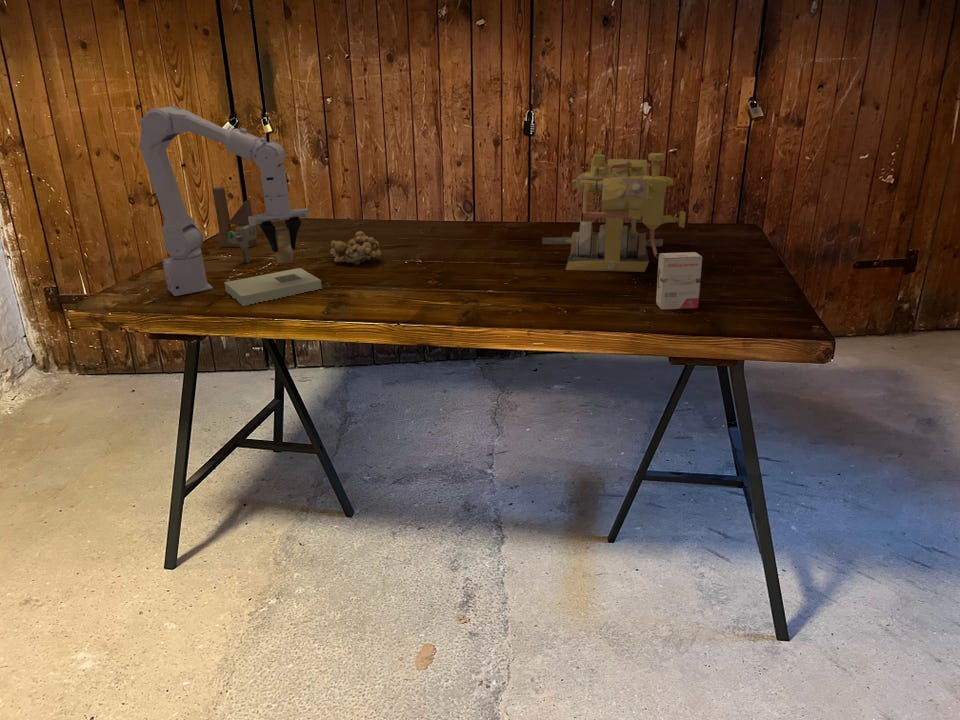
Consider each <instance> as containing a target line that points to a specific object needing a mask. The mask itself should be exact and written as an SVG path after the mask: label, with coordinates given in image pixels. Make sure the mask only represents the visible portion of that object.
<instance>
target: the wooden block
mask: <svg viewBox="0 0 960 720" xmlns="http://www.w3.org/2000/svg"><path fill="white" fill-rule="evenodd" d="M212 195H213V200H214V201H213V202H214V207H215V213H216V219H217V224H218V229H219V235H218V236H217V237H218V243H219V247H220V248H240V244H231V243H229V242H228V238H227V236H226V234H227V233H228V232H229V231H233V230H232V225H238V227H242V226H246V225H250V224H249V220H248V217H249V216H253V211H252V204H251V199H249V198H248V200H245V201H244V202H243V203H242V204H241V206H239V208H238V210H237V211H236V212H235V213H234V215H233V216H232V217H231V218H230V214H229V206H228V202H227V201H228V200H227V195H226V189H225V187H223V186H216V187H215V186H214V187H213V188H212ZM237 240H238V239H237V238H236V241H237ZM248 245H249V247H248V248H253V247H256V246H257V238H256V239H254V240H250V241H248Z"/></svg>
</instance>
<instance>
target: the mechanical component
mask: <svg viewBox="0 0 960 720" xmlns="http://www.w3.org/2000/svg"><path fill="white" fill-rule="evenodd" d="M257 229H258V226H257V224H256V225H254V226H251V225H246V226H242V227H239V226H238V227H236V228H235V231H233V230H232V231H229V232H228V233H227V234H226V236H227V238H228V242H229V243H231V244H240V247H239V248H240V249H241V251H242V258H243V263H246V264H249V262H250V261H251V259H250V256H249V248H250V247H249V245H248V241H250V240H254V239H256V240H257V237H258V233H257V231H258V230H257ZM236 238H237V239H238V240H237V241H236ZM250 263H251V262H250Z"/></svg>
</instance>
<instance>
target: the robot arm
mask: <svg viewBox="0 0 960 720" xmlns="http://www.w3.org/2000/svg"><path fill="white" fill-rule="evenodd" d="M139 123H140V126H141V130H140V137H139V138H140V139H139V149H140V152H141V155H142V157H143V161H144V163H145V167H146V170H147V173H148V175H149V176H148V177H149V178H150V181H151V184H152V187H153V190H154V192H155V195H156V198H157V202H158V203H159V207H160V209H161V212H162V215H163V219H164V222H163V227H162V233H163V234H162V235H163V237H164V238H163V248H164V251H166V253H167V254H168V255H170V257H168V258H164V259H162V266H163V271H164V277H165V281H166V285H167V286H166V287H167V290H168V291H169V292H170V293H171V295H173V297H178V296H184V295H187V294H193V293H200V292H205V291H209V290H213V289H214V288H213V286H212V285H211V284H210V283H208V278H207V273H206V270H205V269H206V268H205V263H204V258H203V254H202V249H201V246H202V245H203V242H204V234H203V233H202V231H201V229H200V228H199V227H198V226H197V225H196V223H195V220H194V218H193V217H191V216H190V215H189V214H188V213H187V209H186V207H185V203H184V200H183V198H182V194H181V191H180V188H179V185H178V183H177V182H178V181H177V179H176V177H175V173H174V170H173V168H172V164H171V162H170V159H169V156H168V153H167V148H168V147H169V146H170V144H171V143H172V141H173V140H174V138H176V137H177V136H178V135H180V134H181V133H189V132H190V133H194V134H195V135H199V136H201V137H205V138H207V139H210V140H211V141H212V140H213V141H214V142H215V141H216V142H218V143H221V144H223V145H224V146H225V148H226V150H227V151H228V152H229V153H231V154H234V155H236V156H238V157H241V158H243V159H245V160H247V161H250V162H253V163H255V164H256V166H257V167H258V168H259V170H260V179H261V186H262V192H263V193H262V194H263V198H264V199H263V200H264V205H265V212H264V213H260V214H255V215H252V216H249V217H248V220H249V224H250V225H251V226H254V225H256V226H257V225H258V226H259V227H260V229H261V230H262V232H263V233H264V235H265V237H266V238H267V240H268V243H269V245H270V248H271V251H272V252H273V253H276V252H278V250H277V243H276V236H275V229H276V226H275V225H274V223H275V222H282V221H284V223H285V228H289V231H290V239H291V246H292V250H296V243H297V237H298V232H299V230H300V227H301V225H302V220H301V218H309V217H310V215H309V214H310V213H309V209H308V208H294V209H291V206H290V198H289V197H290V196H289V190H288V183H287V176H286V169H285V164H284V163H285V161H286V157H287V154H286V150H285V148H284V147H283V145H281V144H280V143H278V142H277V141H275V140H274V141H273V140H271V141H268V142H267V138H266V137H263V136H262V137H258V136H255V135H254V134H251V133H249V132H248V129H246V128H244V127H242V128H237V127H236V128H233V129H231V130H228V129H226V128H224V127H222V126H220V125H218V124H216V123H214V122H212V121H210V120H207V119H205V118H203V117H201V116H199V115H197V114H195V113H192V112H191V111H189V110H187V109H183V108H181V109H180V107H178V106H175V105H167V106H164V107H160V108H151V109H149V110H147V111H146V112H145V114H144V115H143V117H142V118H141V119H140V121H139Z"/></svg>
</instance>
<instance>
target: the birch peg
mask: <svg viewBox="0 0 960 720" xmlns="http://www.w3.org/2000/svg"><path fill="white" fill-rule="evenodd" d="M275 236H276V243H277V250H278V252H275V257H276V262H277V263H278V264H289V263H292V262H293V261H294V255H293V249H292V246H291V239H290V231H289V228H287V227H277V228H276V227H275Z"/></svg>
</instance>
